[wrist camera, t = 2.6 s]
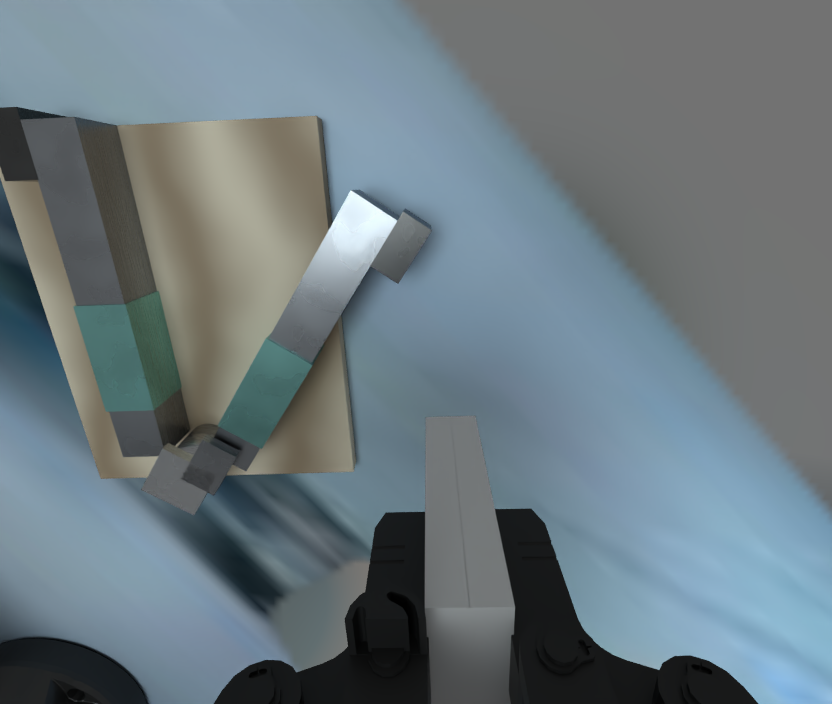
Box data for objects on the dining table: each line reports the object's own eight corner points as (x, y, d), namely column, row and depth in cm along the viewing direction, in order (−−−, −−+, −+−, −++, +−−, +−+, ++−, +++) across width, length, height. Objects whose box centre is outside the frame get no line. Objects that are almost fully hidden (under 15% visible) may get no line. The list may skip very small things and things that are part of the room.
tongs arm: (176, 451, 29) (141, 489, 25) (331, 158, 23) (314, 153, 19) (261, 494, 30) (239, 536, 26) (430, 225, 24) (432, 232, 20)
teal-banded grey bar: (137, 463, 30) (104, 495, 27) (35, 118, 23) (-26, 107, 20) (236, 460, 30) (215, 492, 27) (164, 112, 23) (123, 100, 20)
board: (112, 468, 31) (100, 478, 30) (5, 134, 24) (-15, 131, 23) (356, 461, 31) (353, 471, 30) (321, 119, 24) (316, 115, 23)
